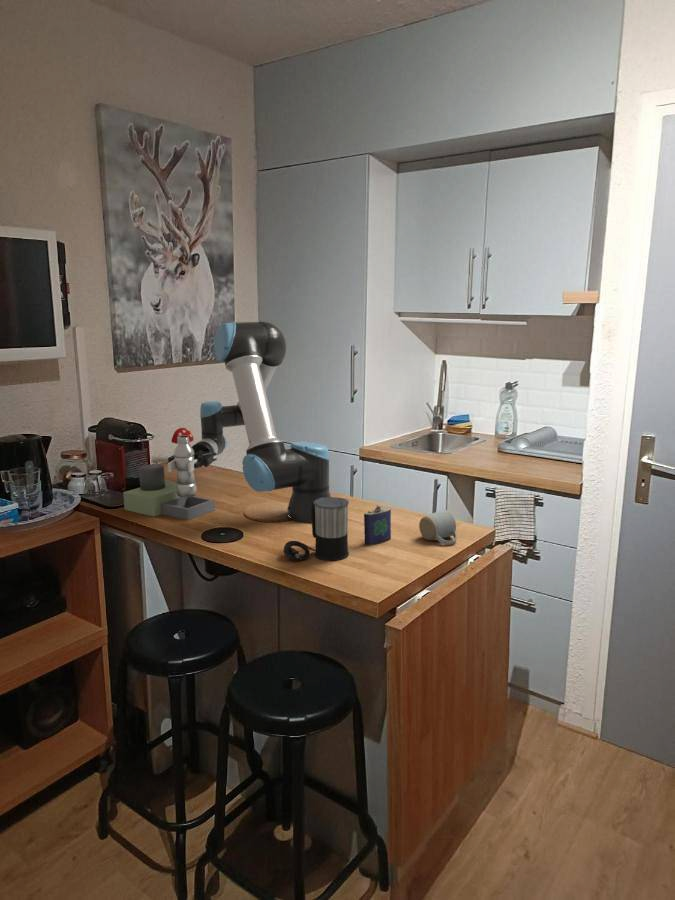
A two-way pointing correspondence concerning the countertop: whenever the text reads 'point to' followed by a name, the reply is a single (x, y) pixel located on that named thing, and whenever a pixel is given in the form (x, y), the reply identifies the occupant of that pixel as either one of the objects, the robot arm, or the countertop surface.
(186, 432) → the decorative mushroom
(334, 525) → the milk frother
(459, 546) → the countertop surface
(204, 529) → the countertop surface
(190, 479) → the plastic bottle
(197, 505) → the green block with tray
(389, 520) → the flask
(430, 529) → the ceramic mug
